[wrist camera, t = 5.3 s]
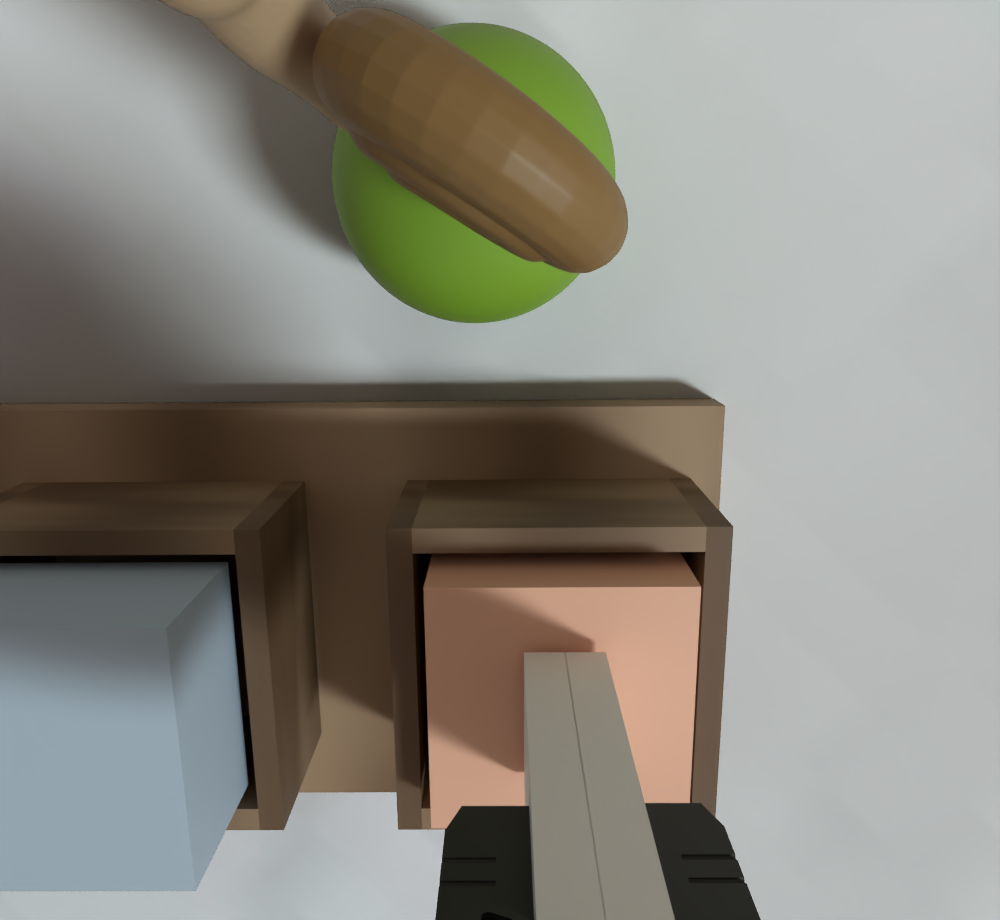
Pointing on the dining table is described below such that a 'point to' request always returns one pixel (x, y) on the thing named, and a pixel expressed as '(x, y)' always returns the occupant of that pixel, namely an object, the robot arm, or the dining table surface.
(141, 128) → the dining table surface
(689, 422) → the wooden socket tray
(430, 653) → the terracotta key
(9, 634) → the slate key
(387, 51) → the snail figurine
